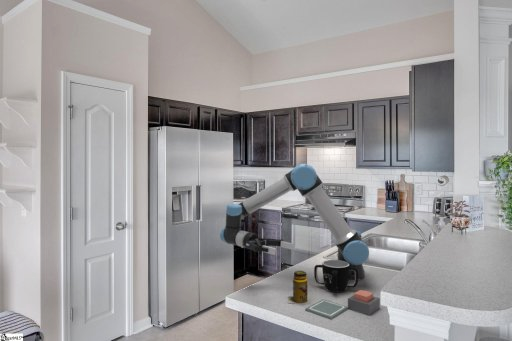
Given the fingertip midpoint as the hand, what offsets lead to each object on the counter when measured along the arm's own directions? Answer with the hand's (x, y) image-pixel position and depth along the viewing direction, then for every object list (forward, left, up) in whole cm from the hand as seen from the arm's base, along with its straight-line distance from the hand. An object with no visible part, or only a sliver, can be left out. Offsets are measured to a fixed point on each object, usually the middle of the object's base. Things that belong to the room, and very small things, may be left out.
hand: (284, 249), depth 149 cm
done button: (-11, +31, -17) cm, 37 cm away
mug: (-22, +12, -21) cm, 33 cm away
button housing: (-11, +31, -20) cm, 39 cm away
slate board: (0, +21, -20) cm, 29 cm away
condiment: (0, +7, -21) cm, 22 cm away
